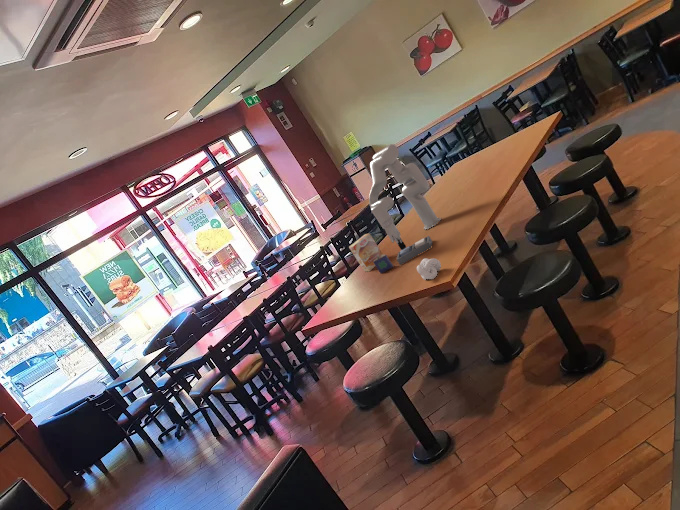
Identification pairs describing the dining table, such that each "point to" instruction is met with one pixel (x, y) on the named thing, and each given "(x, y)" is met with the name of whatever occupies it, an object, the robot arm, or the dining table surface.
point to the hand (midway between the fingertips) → (404, 248)
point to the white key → (420, 243)
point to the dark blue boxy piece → (383, 263)
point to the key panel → (414, 251)
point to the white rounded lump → (428, 268)
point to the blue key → (405, 251)
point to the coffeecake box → (366, 251)
